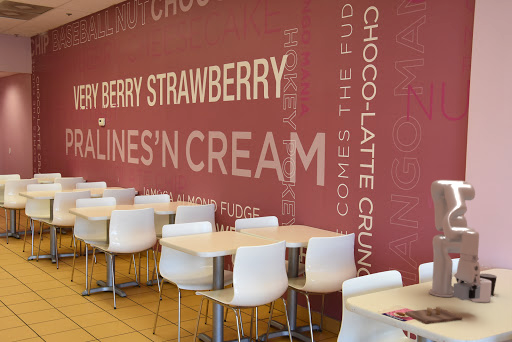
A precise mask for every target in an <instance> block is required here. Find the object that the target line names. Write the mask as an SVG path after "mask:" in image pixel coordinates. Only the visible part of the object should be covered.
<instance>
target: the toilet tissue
mask: <svg viewBox="0 0 512 342" xmlns="http://www.w3.org/2000/svg"><path fill="white" fill-rule="evenodd" d="M480 282H481V285H480V298H478V299H469V300H470V301H472V302H473V303H474V302H475V303H490V302H491V300H492V299H491V297H492V296H491V283H492V282H491V281H490V280H487V279H483V278H480Z"/></svg>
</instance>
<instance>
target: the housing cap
mask: <svg viewBox="0 0 512 342" xmlns="http://www.w3.org/2000/svg"><path fill="white" fill-rule="evenodd" d="M472 286H473V284H472ZM453 287H454V289H453V297H454V298H456V299H459V300H461V301H467V300H470V298H469V290H471V289H470V285H469V283H467V282H464V283H457V282H456V283H453ZM478 298H480V286H479V287H478V288H477V290H476V291H475V298H471V299H478Z"/></svg>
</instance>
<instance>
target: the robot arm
mask: <svg viewBox="0 0 512 342" xmlns="http://www.w3.org/2000/svg"><path fill="white" fill-rule="evenodd" d="M475 190H476V189H475V187H474V185H472V183H470V182H467V181H465V180H456V179H455V180H453V179H438V180H434V181H432V183H431V186H430V195H431V199H432V203H433V205H434V206H433V207H434V226H435V229H436V230H437V231H438V232H443V233H439V234H436V235H434V236H433V237H432V249H433V250H432V251H433V260H432V261H433V263H432V264H433V266H432V267H433V269H432V283H431V284H432V286H431V287H432V288H431V289H429V290H428V293H429V294H430V295H431V296H434V297H439V298H440V297H441V298H453V297H454V296H453V289H454V285H452V284H453V283H452V282H453V267H454V265H453V264H454V263H453V259H452V258H451V256H450V255H449V254H459V256H460V257H459V259H458V262H457V268H456V269H457V270H456V273H454V278H455V281H456V283H464V282H467V283H469V285H470V289H471V290H469V298H470V299H471V298H475V291H476V290H477V288H478V287H479V286H480V285H481V282H480V274H481V271H480V270H481V267H480V262H479V246H480V244H479V242H480V234H479V233H480V232H478V231H477V230H476V229H475V228H474V227H469V226H468V221H467V217H466V216H465V214H466V212H467V210H468V207H467V204H466V201H473V200H474V199H475V196H476V191H475ZM472 284H473V286H472ZM470 299H469V300H470Z"/></svg>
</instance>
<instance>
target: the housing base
mask: <svg viewBox="0 0 512 342" xmlns="http://www.w3.org/2000/svg"><path fill="white" fill-rule="evenodd" d="M404 313H405V315H406V316H408V317H410V318H412V319H414V320H417V321H419V322H421V323H422V324H425V325H431V324H439V323H448V322H456V321H463V316H460V315H458V314H456V313H453V312H451V311H448V310H446V309H443V308H442V307H441V306H435V308H431V307H427V308H426V309H419V310H410V311H408V310H407V311H404Z"/></svg>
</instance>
